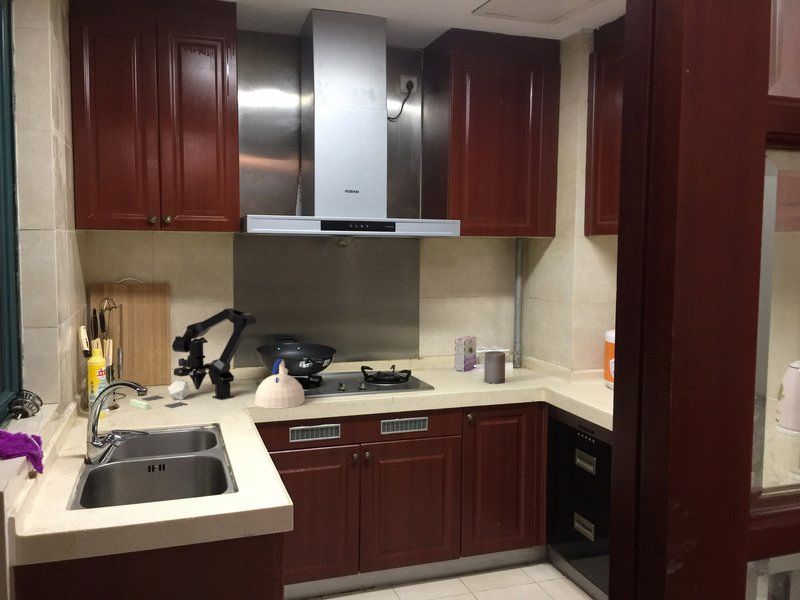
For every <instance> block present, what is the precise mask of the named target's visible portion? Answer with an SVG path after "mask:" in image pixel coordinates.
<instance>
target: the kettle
mask: <svg viewBox="0 0 800 600" xmlns="http://www.w3.org/2000/svg"><path fill="white" fill-rule="evenodd" d="M285 366H286V365H285V361H284V359H282V358H278V359H276V360H275V362H274V365H273V367H272V372H271V375H270V376H267V377H266V378H264V379H263V380H262V381H261V383H260V384H259V385H258V386H257V389H256V392H255V398H254V405H255V404H256V405H258V406H257V407H260V408H261V409H262V408H263V409H264V408H265V409H273V410H274V409H290V408H294V407H299V406H301V405H303V404H304V403H305V402H306V400H305V399H306V398H305V390H304V388H303V385H302V384H301V383H300V382H299V381H298V379H296V378H294V376H292V375H288V373H289V369H288V368H286V367H285ZM304 401H305V402H304ZM303 402H304V403H303Z"/></svg>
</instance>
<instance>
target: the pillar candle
mask: <svg viewBox="0 0 800 600" xmlns="http://www.w3.org/2000/svg"><path fill="white" fill-rule="evenodd" d="M483 369H484V371H483V372H484V375H483V376H484V377H483V381H484V383H486V384H494V385H500V384H504V383H506V353H505V352H504V351H496V350H492V351H486V352H484V368H483Z"/></svg>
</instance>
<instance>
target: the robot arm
mask: <svg viewBox="0 0 800 600" xmlns="http://www.w3.org/2000/svg"><path fill="white" fill-rule="evenodd" d="M225 321H229V322H230V323H233V331H232V333H231V335H230V337H229V339H228V342H227V343H226V345H225V348H224V349H223V351H222V353H221V354H220V356H219V358H217V359H214V360H212V361H211V362H207V363H205V362H204V361H205V360H204V359H205V358H206V355H205V354H204V344H207V343H208V340H207V339H206V338H205V337H203V336H204V335H206V334H207V333H208V332H209V331H210V330H211V329H212V328H214V327H216V326H218V325H220V324H222V323H223V322H225ZM256 323H257V319H256V316H255V315H254V313H251V312H248V313H247V312H245V311H241V310H237V309H236V308H232V307H228V308H224V309H223V310H221V311H220V312H217V313H216V314H214V315H212V316H210V317H208V318H207V319H205V320H203V321H200V322H199V321H198V322H195V323H192V324H189V325H187V326H186V330H185V332H184V334H183V335H182V336H181V335H176V336H175V339H174V340H173V342H172V345H171V347H172V351H173V352H175V353H189V355H187V358H186V359H185V358H183V357H182V358H178V360H177V361H178V363H177V364H178V366H179V367H176V368H174V370H173V376H177V377H186V376H189V377H190V379H191V380H192V383H193V385H194V387H195V390H199V389H200V388H201V385H202V383H203V382H204V379H205V377H206V375H208V377H209V379H210V382H211V384H212V386H213V385H214V386H215V387H214V391H215V394H214V395H212V398H214V399H217V400H226V399H231V398H234V395H232V394H231V392H232V391H231V382H234V380H235V376H234V374H233V373H232V372H231V362H232V359H233V358H234V357H235V354H236V352H237V350H238V349H239V346H240V345H241V343H242V340H243V339H244V337H245V336H246V334H247V333H248V332H249V331H251V330H252V329H253V328H254V326H255V324H256ZM204 363H205V364H204Z"/></svg>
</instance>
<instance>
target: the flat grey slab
mask: <svg viewBox="0 0 800 600" xmlns="http://www.w3.org/2000/svg"><path fill="white" fill-rule="evenodd" d="M161 399H164V396H161V395H157V394H156V395H152V396H147V397H143V398H141V400H138V399H135V398H133V399H132V398H131V399H129V401H130V402H129V405H130V406H133V407H136V408H140V409H143V410H150V403H148V402H149V401H155V400H161ZM142 400H144V401H147V402H144V401H142ZM183 405H184V406H187V405H188V403H186V402H182V401H180V402H174V403H170V404H169V403H168V404H165V405H164V407H167V408H170V409H174V408H177V407H183Z"/></svg>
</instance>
